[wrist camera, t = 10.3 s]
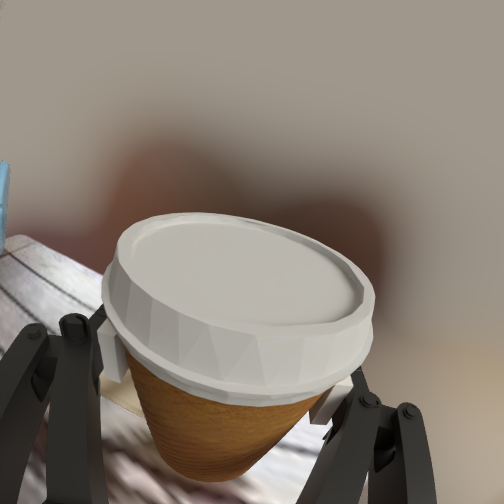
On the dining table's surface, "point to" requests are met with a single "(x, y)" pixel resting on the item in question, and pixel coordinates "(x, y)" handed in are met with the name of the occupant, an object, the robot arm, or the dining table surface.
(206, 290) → the disposable coffee cup
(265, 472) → the dining table surface
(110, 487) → the dining table surface
